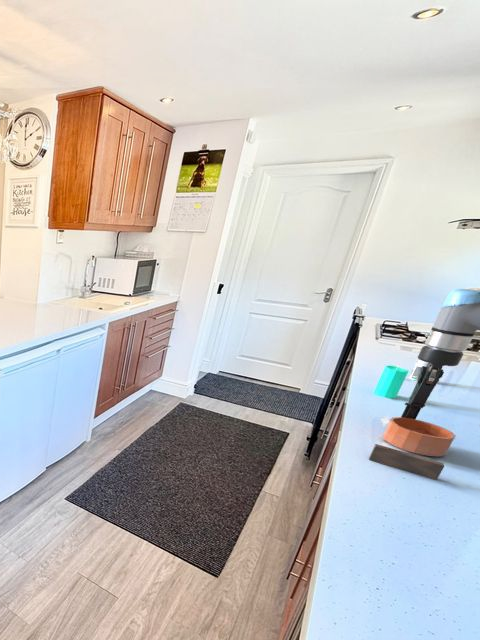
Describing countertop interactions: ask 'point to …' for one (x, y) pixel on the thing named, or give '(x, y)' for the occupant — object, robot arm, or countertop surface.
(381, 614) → the countertop surface
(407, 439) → the bowl
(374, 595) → the countertop surface
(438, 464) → the bar
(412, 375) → the pill bottle
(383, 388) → the candle
